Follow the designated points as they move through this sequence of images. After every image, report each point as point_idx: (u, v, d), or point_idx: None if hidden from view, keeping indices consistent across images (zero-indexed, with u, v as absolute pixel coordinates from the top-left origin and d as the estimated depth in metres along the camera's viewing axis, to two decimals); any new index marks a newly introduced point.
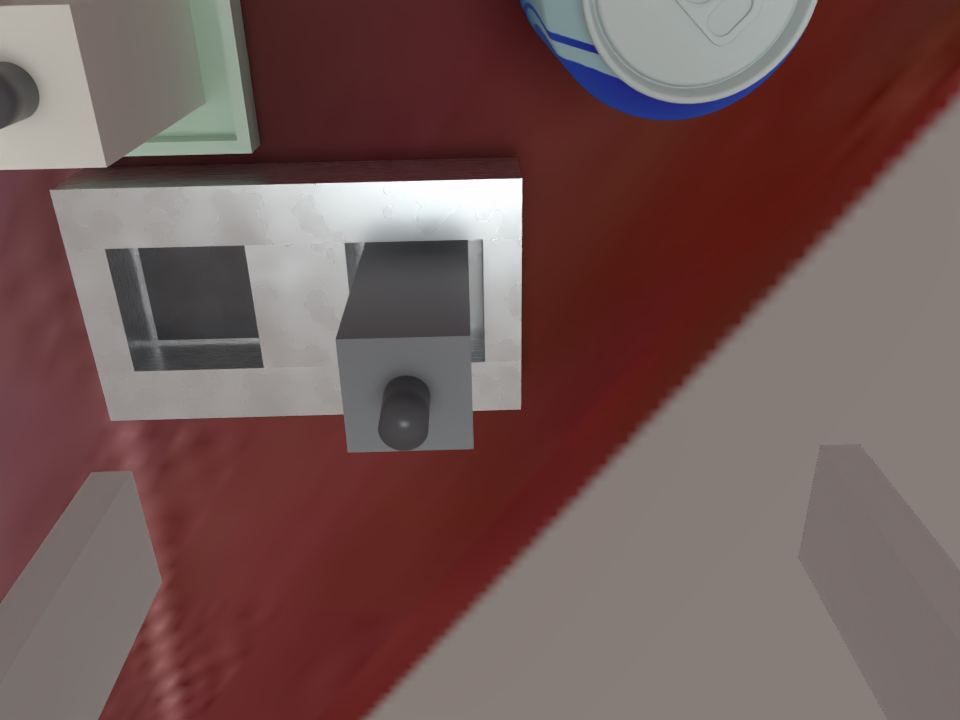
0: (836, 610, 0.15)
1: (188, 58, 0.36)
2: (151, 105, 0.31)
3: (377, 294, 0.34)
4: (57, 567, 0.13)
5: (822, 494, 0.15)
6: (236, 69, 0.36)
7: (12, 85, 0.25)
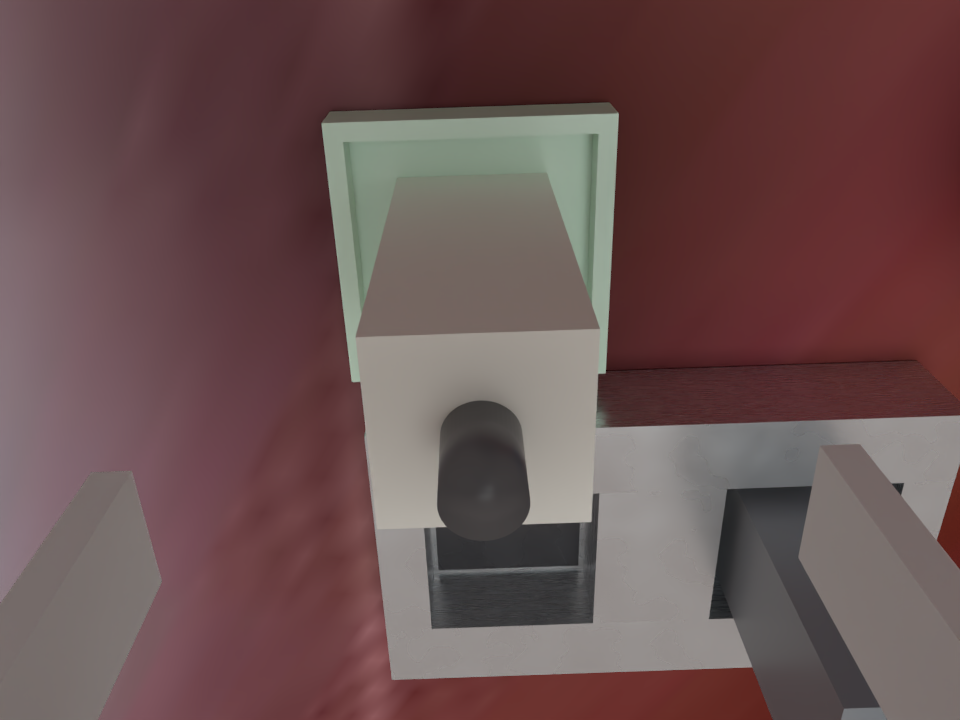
0: (836, 610, 0.15)
1: None
2: None
3: None
4: (57, 567, 0.13)
5: (821, 494, 0.15)
6: (605, 278, 0.28)
7: (521, 454, 0.16)
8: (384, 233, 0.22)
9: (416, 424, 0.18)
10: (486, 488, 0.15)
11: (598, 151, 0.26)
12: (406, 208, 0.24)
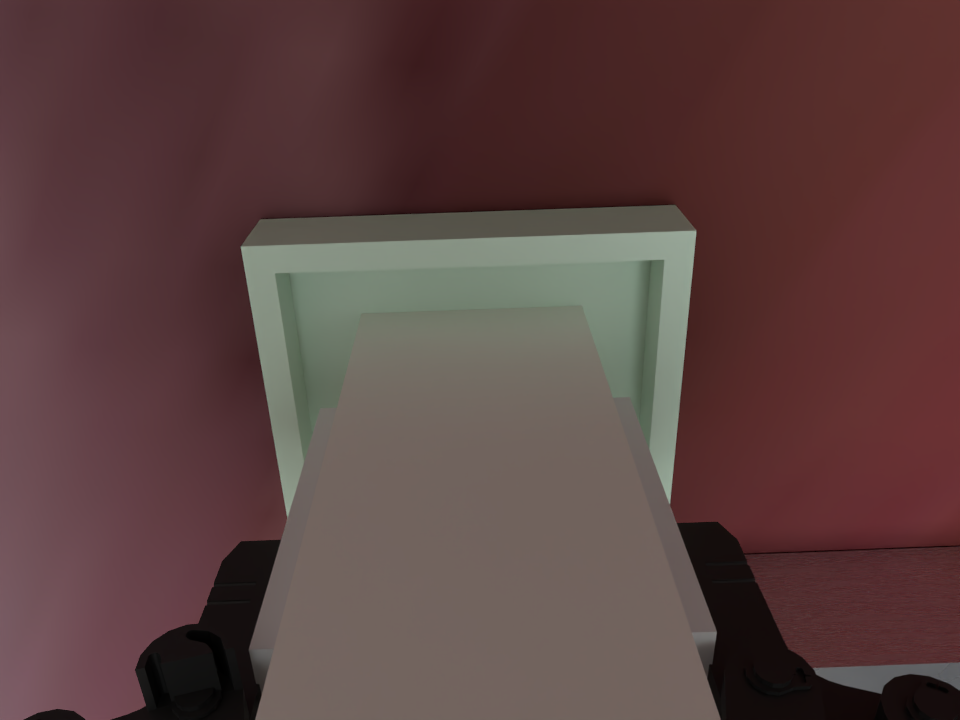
0: None
1: None
2: None
3: None
4: None
5: None
6: (667, 456, 0.19)
7: None
8: (328, 452, 0.13)
9: None
10: None
11: (663, 284, 0.17)
12: (369, 387, 0.15)
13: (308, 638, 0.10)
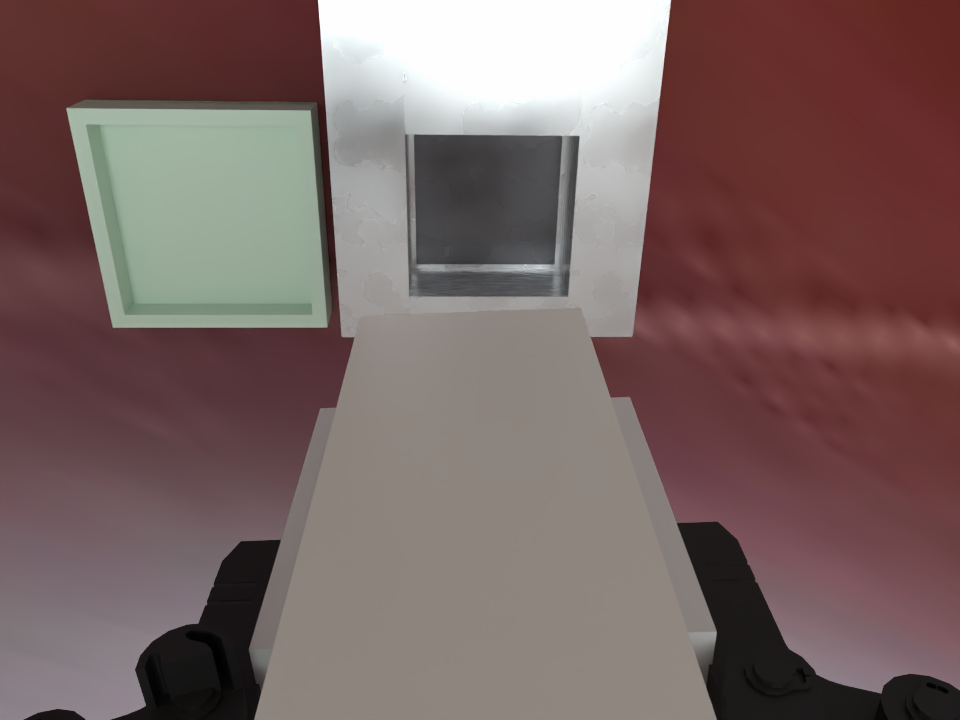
0: None
1: None
2: None
3: None
4: None
5: None
6: (214, 113, 0.31)
7: None
8: (326, 455, 0.13)
9: None
10: None
11: (100, 124, 0.31)
12: (368, 389, 0.15)
13: (306, 642, 0.10)
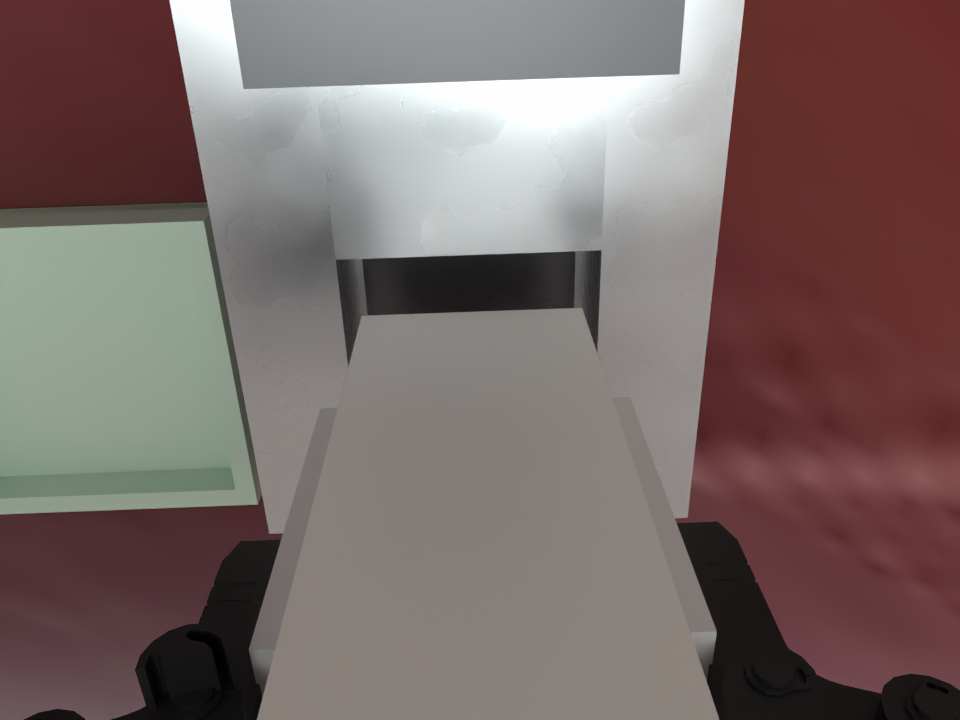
0: None
1: None
2: None
3: None
4: None
5: None
6: (64, 231, 0.21)
7: None
8: (328, 455, 0.13)
9: None
10: None
11: None
12: (369, 389, 0.15)
13: (308, 642, 0.10)
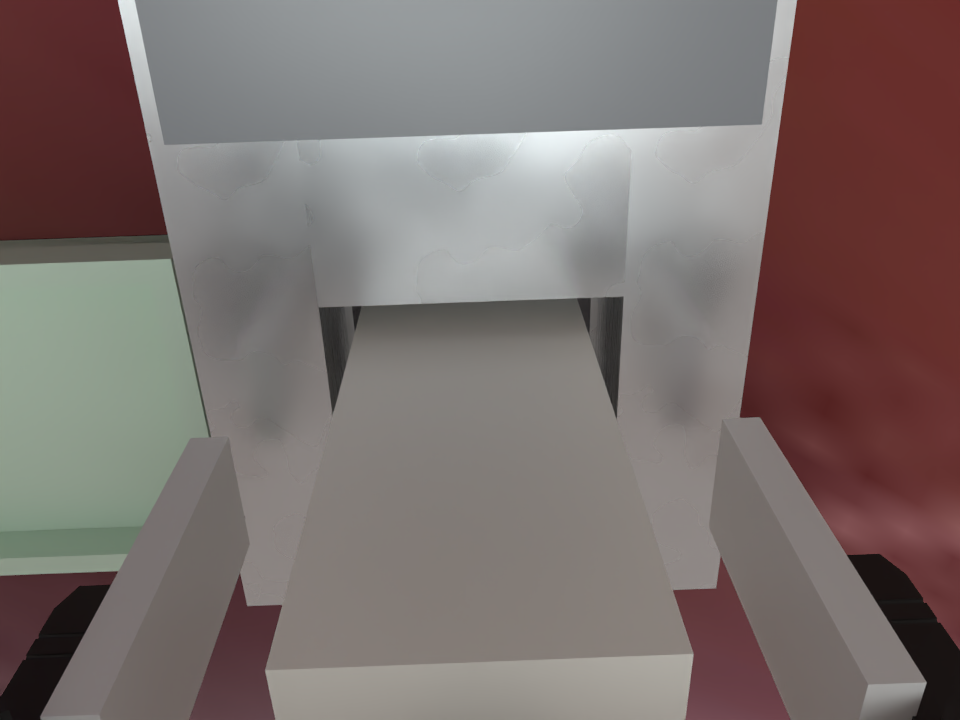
0: (735, 573, 0.16)
1: None
2: None
3: None
4: (175, 521, 0.14)
5: (724, 464, 0.16)
6: (12, 270, 0.19)
7: None
8: (340, 397, 0.15)
9: None
10: None
11: None
12: (376, 344, 0.17)
13: (327, 538, 0.12)
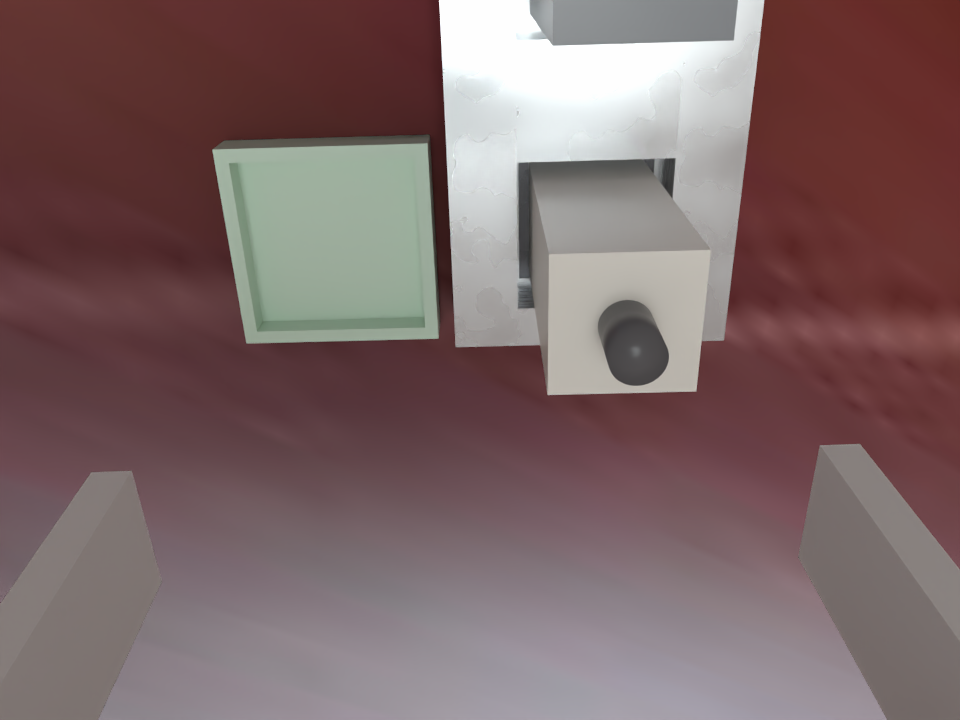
0: (836, 610, 0.15)
1: None
2: None
3: None
4: (57, 567, 0.13)
5: (822, 494, 0.15)
6: (341, 149, 0.35)
7: (659, 331, 0.25)
8: (537, 197, 0.31)
9: (582, 317, 0.26)
10: (641, 347, 0.24)
11: (241, 162, 0.35)
12: (546, 182, 0.33)
13: (555, 230, 0.27)
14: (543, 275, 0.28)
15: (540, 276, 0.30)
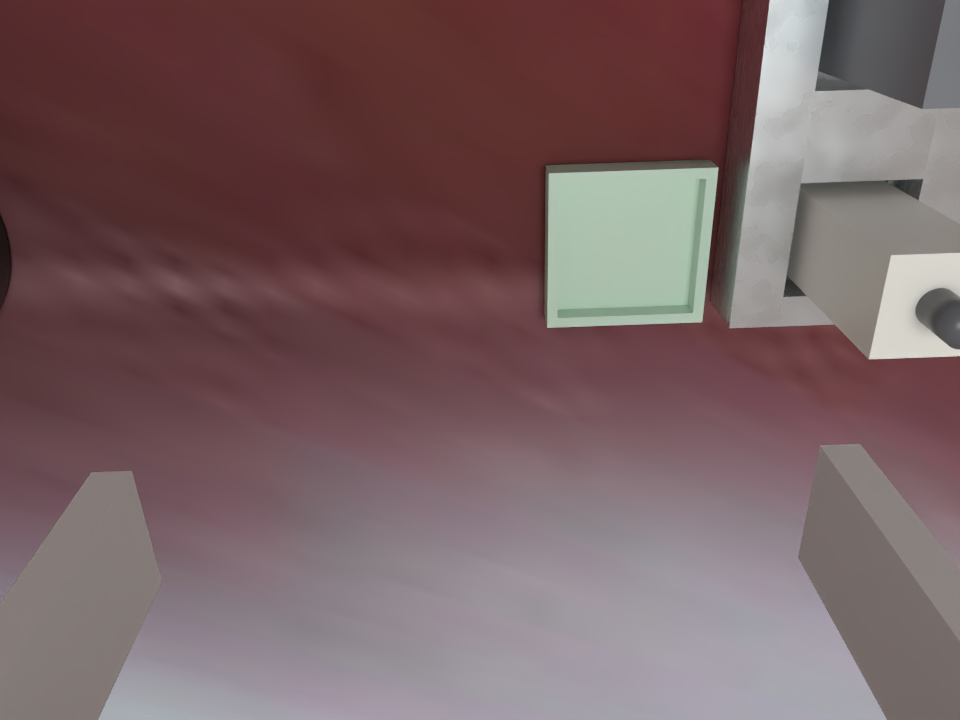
0: (836, 610, 0.15)
1: None
2: None
3: (878, 63, 0.35)
4: (57, 567, 0.13)
5: (822, 494, 0.15)
6: (650, 172, 0.44)
7: None
8: (831, 211, 0.40)
9: (906, 300, 0.36)
10: None
11: (569, 183, 0.44)
12: (823, 198, 0.42)
13: (875, 237, 0.37)
14: (860, 270, 0.38)
15: (843, 271, 0.39)
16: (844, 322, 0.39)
